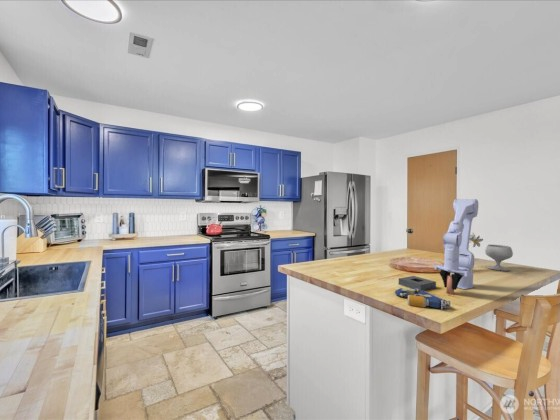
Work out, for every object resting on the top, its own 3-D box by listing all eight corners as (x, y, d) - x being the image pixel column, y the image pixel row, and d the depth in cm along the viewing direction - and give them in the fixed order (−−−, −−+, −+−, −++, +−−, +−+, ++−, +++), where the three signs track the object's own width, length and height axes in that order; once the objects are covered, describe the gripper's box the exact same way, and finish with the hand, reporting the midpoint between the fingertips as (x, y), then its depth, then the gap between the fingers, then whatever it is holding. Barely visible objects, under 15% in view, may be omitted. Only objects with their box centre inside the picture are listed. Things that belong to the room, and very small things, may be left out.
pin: (448, 292, 129) (449, 275, 129) (455, 293, 127) (456, 276, 126) (445, 292, 128) (445, 275, 128) (451, 294, 125) (452, 277, 125)
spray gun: (419, 312, 104) (453, 311, 107) (420, 301, 104) (454, 300, 107) (387, 295, 125) (417, 294, 127) (388, 286, 125) (417, 285, 127)
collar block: (413, 281, 146) (413, 275, 146) (435, 287, 135) (436, 281, 135) (398, 284, 140) (398, 278, 140) (420, 291, 129) (420, 284, 129)
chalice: (516, 270, 176) (517, 246, 176) (506, 272, 169) (507, 248, 169) (490, 265, 189) (491, 243, 188) (480, 267, 182) (481, 245, 181)
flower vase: (473, 275, 161) (475, 232, 161) (443, 268, 178) (444, 229, 177) (486, 273, 167) (488, 232, 166) (456, 266, 184) (457, 229, 183)
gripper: (431, 256, 131) (429, 285, 132) (463, 262, 119) (462, 294, 119) (439, 255, 135) (438, 283, 135) (472, 261, 122) (471, 291, 122)
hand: (450, 288), depth 127 cm, fingers closed on pin, 3 cm apart
